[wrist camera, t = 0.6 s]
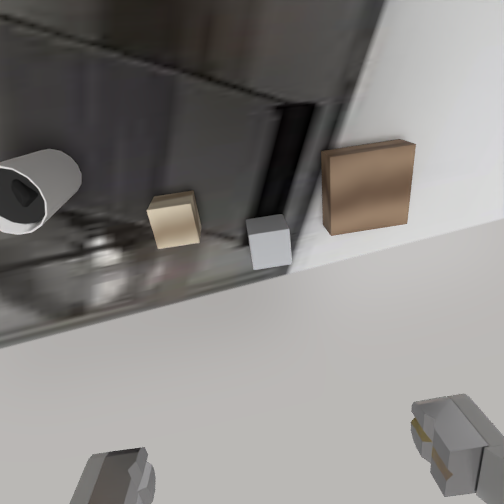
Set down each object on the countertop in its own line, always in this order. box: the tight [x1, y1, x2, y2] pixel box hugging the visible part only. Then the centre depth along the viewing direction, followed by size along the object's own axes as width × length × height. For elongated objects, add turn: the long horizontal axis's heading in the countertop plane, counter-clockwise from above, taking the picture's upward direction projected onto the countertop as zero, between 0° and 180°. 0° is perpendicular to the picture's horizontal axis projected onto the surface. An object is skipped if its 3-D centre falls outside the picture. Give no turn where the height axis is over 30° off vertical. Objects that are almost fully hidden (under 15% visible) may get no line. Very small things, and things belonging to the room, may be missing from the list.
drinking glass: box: [0, 149, 82, 235], centre depth 34 cm, size 7×7×10 cm
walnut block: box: [321, 139, 416, 236], centre depth 41 cm, size 10×10×4 cm
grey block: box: [246, 214, 292, 270], centre depth 43 cm, size 5×5×5 cm
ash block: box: [147, 191, 201, 249], centre depth 40 cm, size 5×5×5 cm
